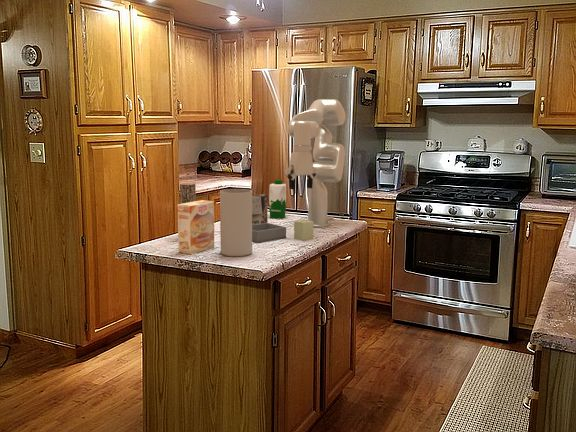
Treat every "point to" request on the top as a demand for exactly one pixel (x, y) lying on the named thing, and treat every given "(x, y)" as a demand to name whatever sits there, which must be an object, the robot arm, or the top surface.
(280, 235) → the tub
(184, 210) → the coffeecake box
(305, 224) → the pale yellow block
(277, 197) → the milk carton
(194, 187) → the bark textured wooden post
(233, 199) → the cylinder vase
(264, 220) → the coffee box
